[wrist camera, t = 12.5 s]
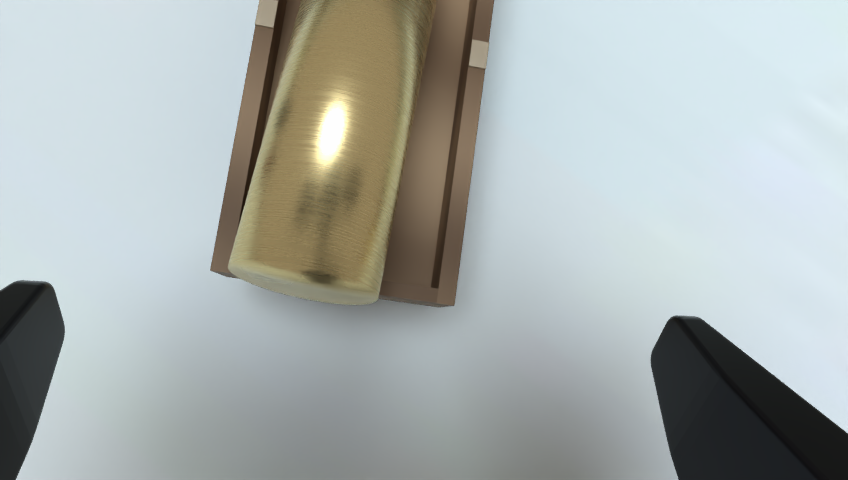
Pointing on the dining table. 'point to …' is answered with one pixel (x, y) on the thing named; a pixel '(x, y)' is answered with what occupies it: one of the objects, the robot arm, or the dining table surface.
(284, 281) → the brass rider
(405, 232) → the brown wooden tray
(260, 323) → the dining table surface
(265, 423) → the dining table surface
